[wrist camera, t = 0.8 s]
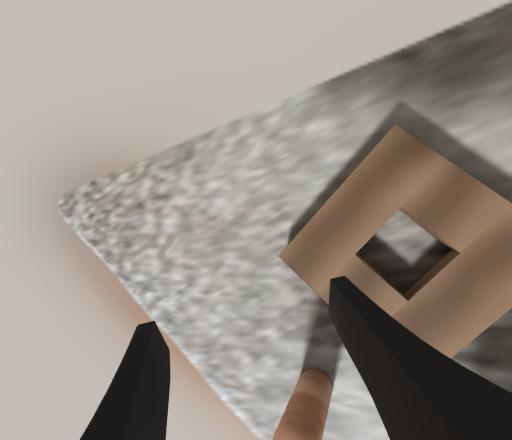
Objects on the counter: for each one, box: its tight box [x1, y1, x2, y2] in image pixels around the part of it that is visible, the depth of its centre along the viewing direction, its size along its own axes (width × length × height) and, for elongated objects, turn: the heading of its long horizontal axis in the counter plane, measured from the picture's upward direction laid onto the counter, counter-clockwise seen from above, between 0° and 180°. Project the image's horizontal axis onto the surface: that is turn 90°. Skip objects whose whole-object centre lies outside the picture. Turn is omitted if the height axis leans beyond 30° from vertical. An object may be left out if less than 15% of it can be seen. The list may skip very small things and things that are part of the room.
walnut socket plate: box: [279, 124, 512, 358], centre depth 23 cm, size 14×14×2 cm
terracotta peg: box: [273, 368, 332, 440], centre depth 22 cm, size 3×3×8 cm
